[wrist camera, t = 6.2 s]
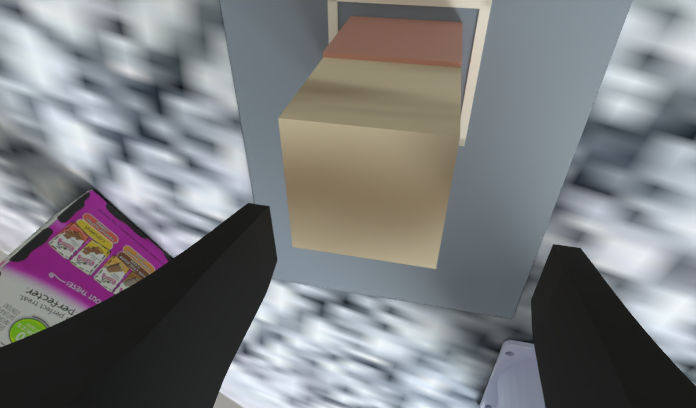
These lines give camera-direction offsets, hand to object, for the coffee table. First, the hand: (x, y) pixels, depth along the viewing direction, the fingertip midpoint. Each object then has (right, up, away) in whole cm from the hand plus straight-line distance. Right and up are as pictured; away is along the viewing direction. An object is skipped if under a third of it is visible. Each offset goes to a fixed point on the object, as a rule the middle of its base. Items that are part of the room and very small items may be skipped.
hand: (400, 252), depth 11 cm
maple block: (0, +4, +4) cm, 6 cm away
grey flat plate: (+1, +3, +11) cm, 11 cm away
